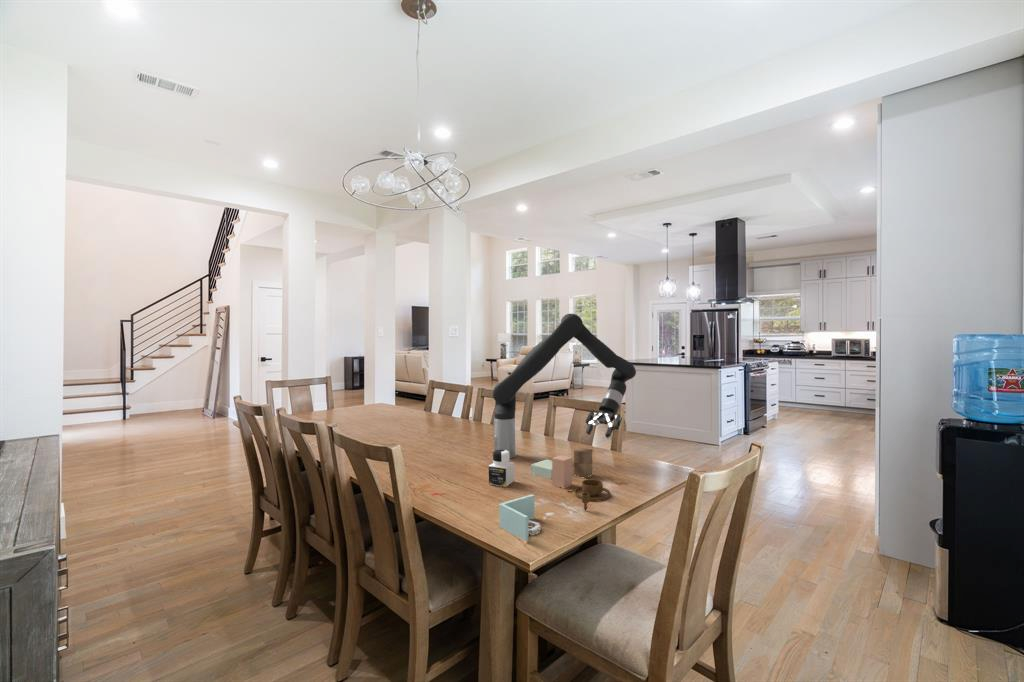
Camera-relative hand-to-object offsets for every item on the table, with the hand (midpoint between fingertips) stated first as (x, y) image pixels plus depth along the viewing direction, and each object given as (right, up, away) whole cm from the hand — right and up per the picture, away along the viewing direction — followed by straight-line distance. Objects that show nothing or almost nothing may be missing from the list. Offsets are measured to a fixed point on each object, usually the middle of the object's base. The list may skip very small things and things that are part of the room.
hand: (597, 435), depth 186 cm
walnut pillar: (-7, -14, -8) cm, 17 cm away
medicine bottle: (-38, -15, -15) cm, 43 cm away
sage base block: (-20, -15, -4) cm, 25 cm away
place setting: (-10, -16, -31) cm, 36 cm away
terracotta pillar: (-16, -14, -18) cm, 28 cm away
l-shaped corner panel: (-29, -16, -55) cm, 64 cm away
